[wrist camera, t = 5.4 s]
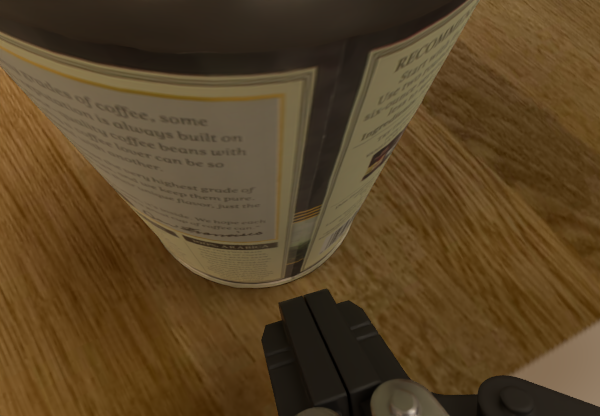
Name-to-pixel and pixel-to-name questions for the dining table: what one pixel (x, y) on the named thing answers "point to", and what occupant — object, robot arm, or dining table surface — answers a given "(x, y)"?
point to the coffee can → (234, 112)
